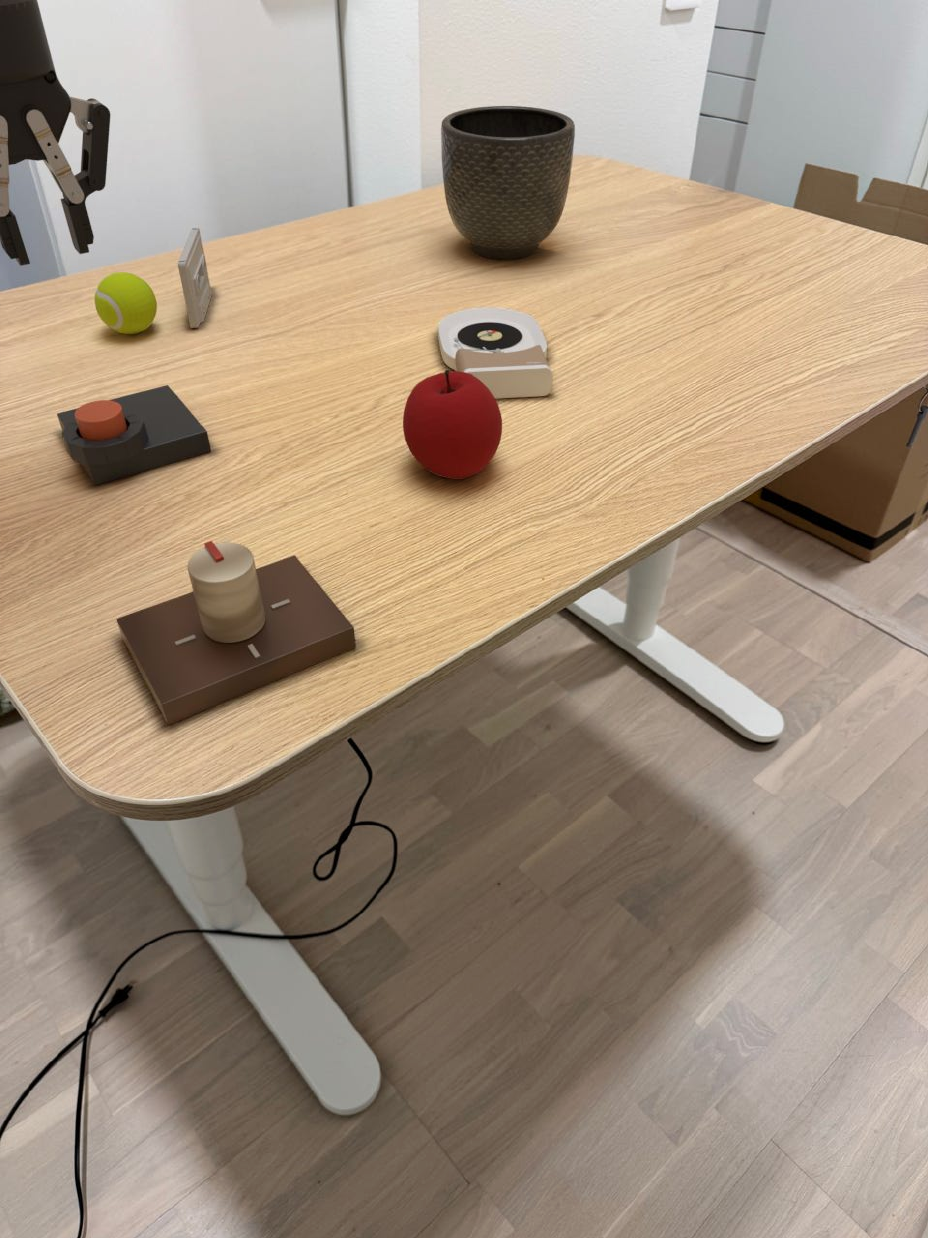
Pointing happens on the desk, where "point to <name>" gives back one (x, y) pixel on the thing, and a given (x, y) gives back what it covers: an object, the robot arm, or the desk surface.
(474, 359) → the record player
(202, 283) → the cassette
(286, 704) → the desk surface
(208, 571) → the dial
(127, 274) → the tennis ball
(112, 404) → the button
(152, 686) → the dial panel
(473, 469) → the apple
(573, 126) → the planter
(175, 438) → the button box
